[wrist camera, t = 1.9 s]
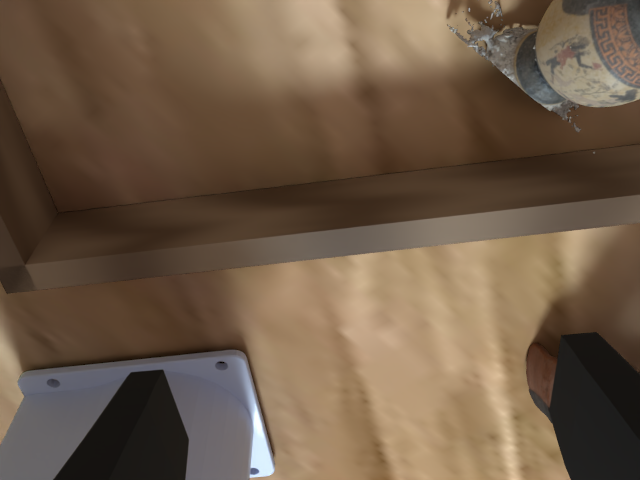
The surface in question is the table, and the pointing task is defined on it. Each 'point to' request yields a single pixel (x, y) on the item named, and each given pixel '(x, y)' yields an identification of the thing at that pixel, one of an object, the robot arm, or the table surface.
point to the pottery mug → (541, 376)
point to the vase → (570, 54)
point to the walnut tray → (299, 216)
